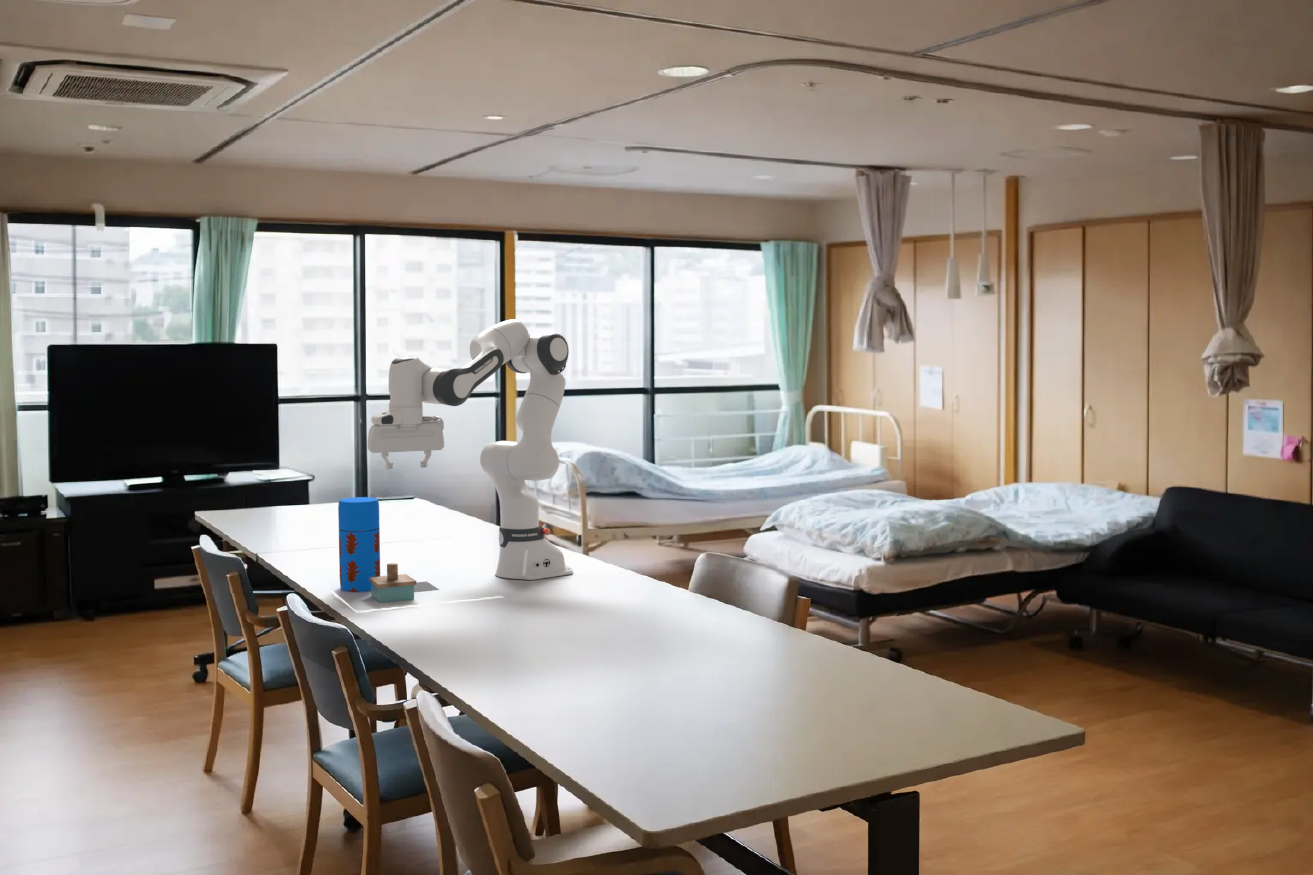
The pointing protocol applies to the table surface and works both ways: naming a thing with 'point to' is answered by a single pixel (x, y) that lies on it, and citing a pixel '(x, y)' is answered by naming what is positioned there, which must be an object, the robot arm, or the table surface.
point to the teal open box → (392, 593)
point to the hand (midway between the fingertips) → (406, 468)
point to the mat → (424, 587)
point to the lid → (392, 578)
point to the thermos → (358, 543)
